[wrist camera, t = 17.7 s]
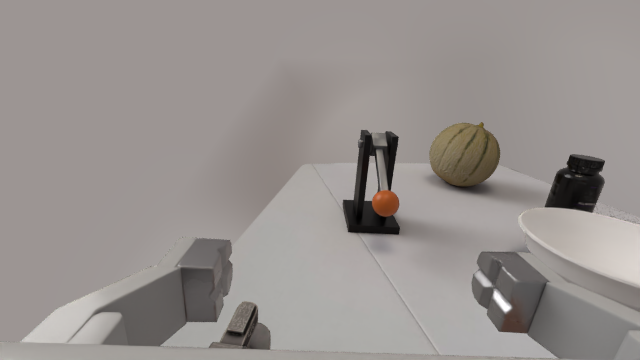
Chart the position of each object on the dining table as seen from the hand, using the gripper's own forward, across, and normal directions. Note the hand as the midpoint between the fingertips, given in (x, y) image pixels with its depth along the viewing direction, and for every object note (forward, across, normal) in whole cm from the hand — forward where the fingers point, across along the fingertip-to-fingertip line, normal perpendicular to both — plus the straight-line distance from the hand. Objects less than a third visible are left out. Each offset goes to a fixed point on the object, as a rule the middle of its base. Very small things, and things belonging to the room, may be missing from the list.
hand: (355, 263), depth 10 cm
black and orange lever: (+38, -9, +17) cm, 43 cm away
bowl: (+22, -35, +17) cm, 45 cm away
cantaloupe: (+59, -34, +17) cm, 70 cm away
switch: (+34, -9, +9) cm, 36 cm away
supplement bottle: (+42, -47, +17) cm, 65 cm away
